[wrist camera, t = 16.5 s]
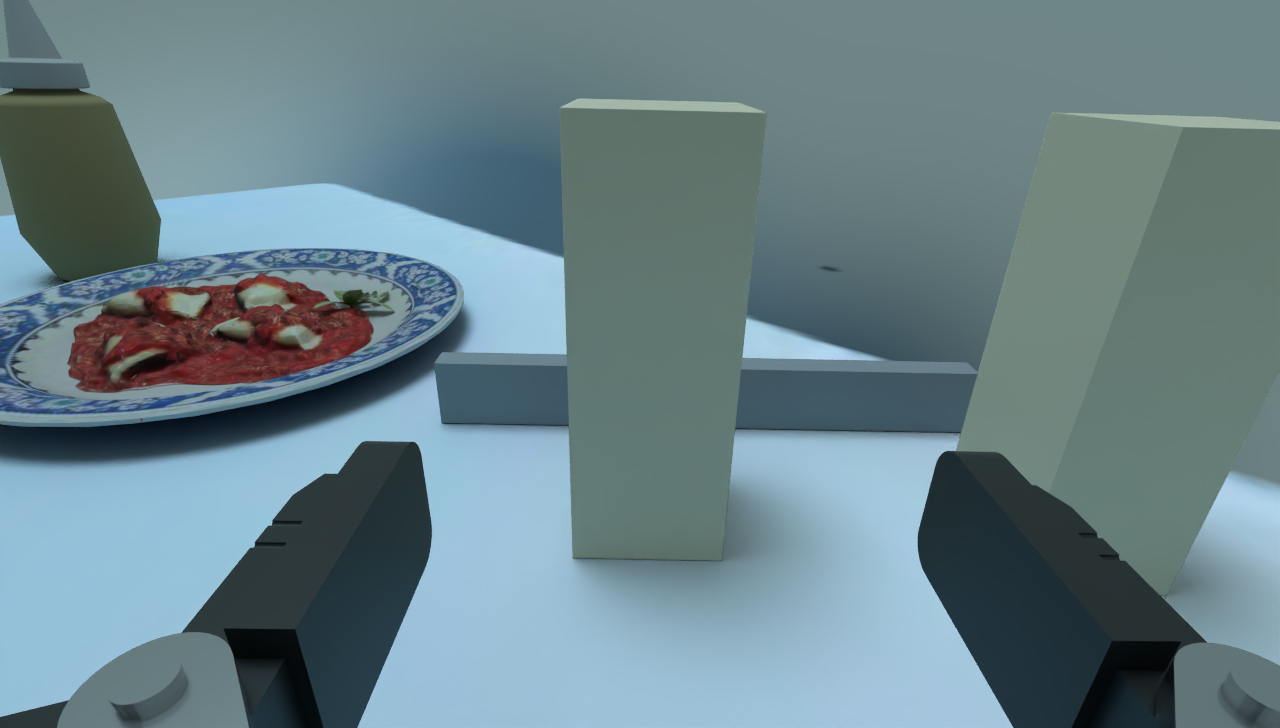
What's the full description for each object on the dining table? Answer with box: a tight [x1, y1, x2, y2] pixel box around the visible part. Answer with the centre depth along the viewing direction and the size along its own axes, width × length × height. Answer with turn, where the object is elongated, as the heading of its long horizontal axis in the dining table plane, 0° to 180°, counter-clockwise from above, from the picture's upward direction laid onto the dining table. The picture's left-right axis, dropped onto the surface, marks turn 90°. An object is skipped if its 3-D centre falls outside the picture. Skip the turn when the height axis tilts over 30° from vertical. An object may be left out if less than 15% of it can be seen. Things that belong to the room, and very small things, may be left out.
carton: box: [560, 99, 767, 561], centre depth 21 cm, size 5×5×14 cm
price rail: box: [434, 352, 978, 432], centre depth 29 cm, size 24×1×3 cm, turn 90°
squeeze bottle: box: [0, 0, 161, 281], centre depth 44 cm, size 8×8×18 cm
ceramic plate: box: [0, 248, 464, 427], centre depth 36 cm, size 26×26×3 cm
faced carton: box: [956, 113, 1280, 596], centre depth 20 cm, size 5×5×14 cm
